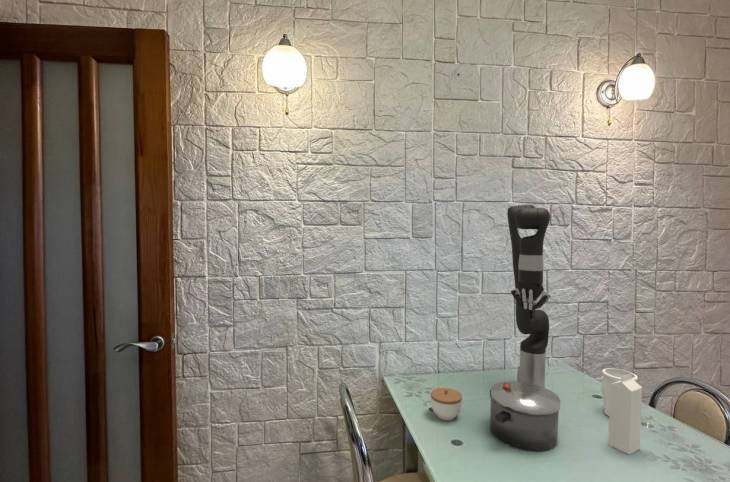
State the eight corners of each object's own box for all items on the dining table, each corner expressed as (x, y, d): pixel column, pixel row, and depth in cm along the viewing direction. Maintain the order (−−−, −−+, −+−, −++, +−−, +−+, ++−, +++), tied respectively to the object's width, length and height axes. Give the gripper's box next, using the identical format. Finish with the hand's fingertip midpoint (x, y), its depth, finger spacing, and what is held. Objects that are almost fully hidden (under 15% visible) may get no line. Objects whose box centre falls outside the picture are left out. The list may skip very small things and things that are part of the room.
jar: (642, 424, 129) (643, 380, 128) (608, 421, 131) (609, 378, 130) (627, 409, 139) (628, 368, 138) (595, 406, 141) (597, 366, 140)
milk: (639, 449, 114) (643, 377, 113) (629, 455, 111) (632, 380, 110) (618, 439, 120) (621, 370, 119) (607, 444, 117) (610, 373, 116)
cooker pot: (466, 433, 122) (467, 399, 122) (513, 406, 140) (514, 377, 140) (531, 465, 106) (532, 427, 106) (574, 431, 124) (575, 397, 124)
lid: (477, 397, 123) (478, 388, 123) (511, 380, 136) (511, 373, 136) (540, 422, 108) (540, 413, 108) (571, 401, 121) (571, 393, 121)
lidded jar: (443, 426, 126) (444, 399, 126) (424, 412, 136) (424, 386, 135) (468, 419, 131) (468, 392, 131) (447, 406, 141) (448, 381, 140)
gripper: (556, 269, 124) (554, 322, 125) (517, 265, 134) (516, 315, 135) (545, 271, 119) (543, 326, 120) (506, 267, 129) (505, 318, 130)
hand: (529, 320), depth 127 cm, fingers closed
